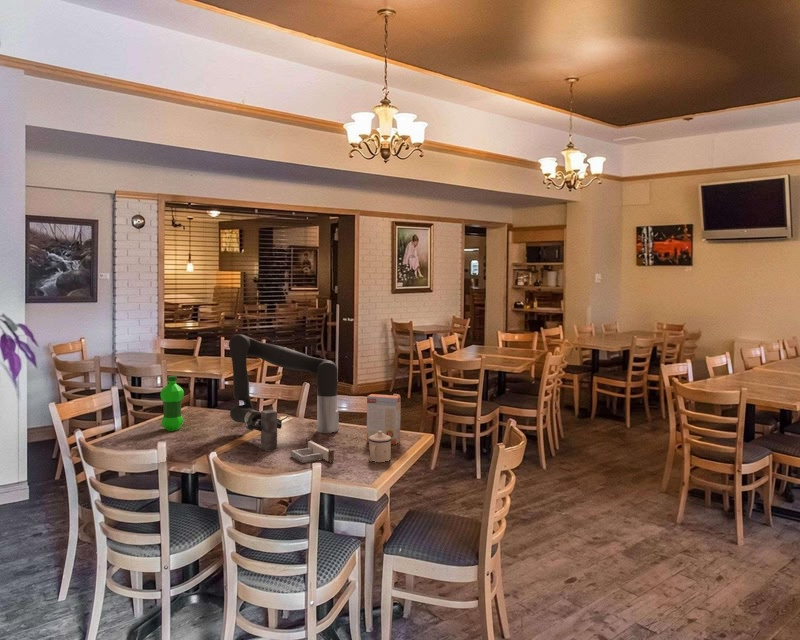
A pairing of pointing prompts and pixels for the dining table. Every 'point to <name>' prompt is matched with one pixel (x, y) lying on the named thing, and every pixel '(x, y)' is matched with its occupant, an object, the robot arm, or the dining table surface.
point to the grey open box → (309, 454)
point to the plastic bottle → (172, 404)
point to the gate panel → (319, 450)
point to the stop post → (269, 430)
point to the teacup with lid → (379, 447)
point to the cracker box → (384, 416)
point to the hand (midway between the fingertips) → (270, 427)
